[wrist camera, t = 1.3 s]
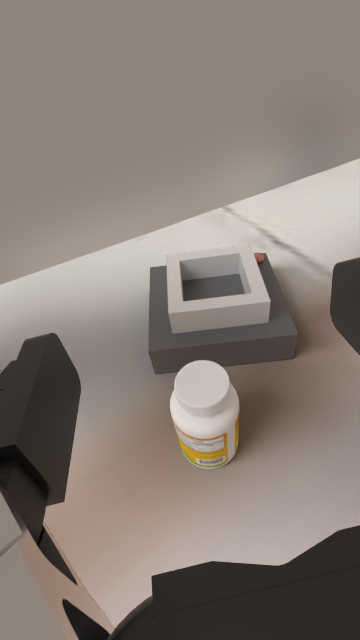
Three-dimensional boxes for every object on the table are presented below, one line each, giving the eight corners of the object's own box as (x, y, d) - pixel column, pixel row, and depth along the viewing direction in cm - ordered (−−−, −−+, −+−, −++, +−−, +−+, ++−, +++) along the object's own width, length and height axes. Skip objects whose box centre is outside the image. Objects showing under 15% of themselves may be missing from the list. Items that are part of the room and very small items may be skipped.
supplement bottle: (207, 403, 33) (200, 340, 26) (251, 439, 30) (256, 379, 23) (168, 441, 31) (148, 384, 24) (210, 484, 28) (202, 433, 21)
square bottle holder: (155, 374, 36) (142, 331, 31) (155, 290, 46) (145, 248, 41) (293, 358, 35) (303, 312, 30) (263, 277, 45) (267, 232, 40)
